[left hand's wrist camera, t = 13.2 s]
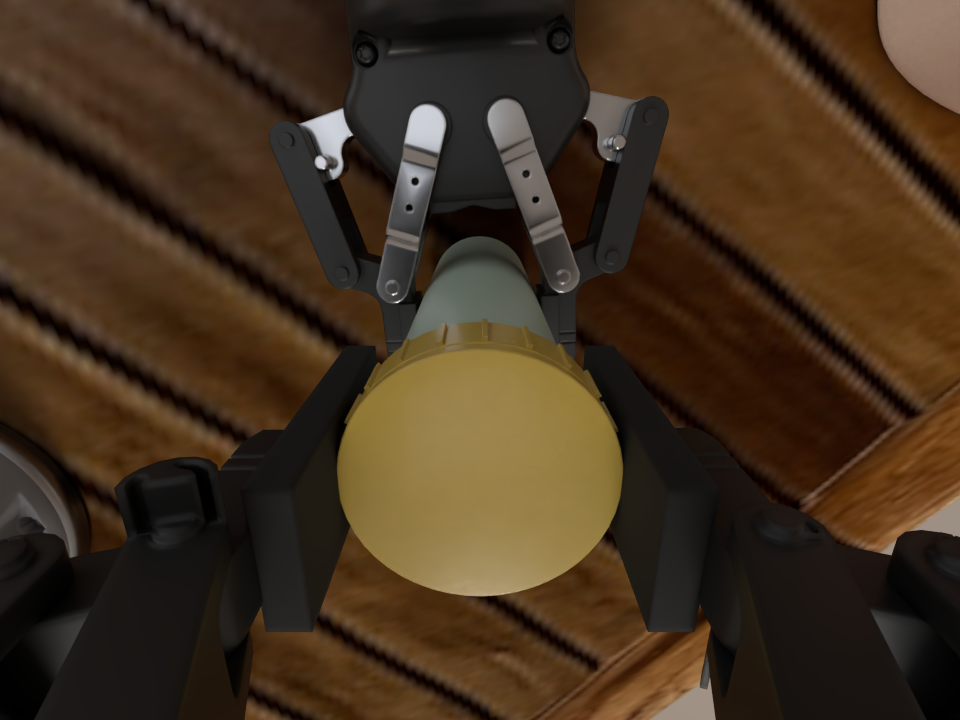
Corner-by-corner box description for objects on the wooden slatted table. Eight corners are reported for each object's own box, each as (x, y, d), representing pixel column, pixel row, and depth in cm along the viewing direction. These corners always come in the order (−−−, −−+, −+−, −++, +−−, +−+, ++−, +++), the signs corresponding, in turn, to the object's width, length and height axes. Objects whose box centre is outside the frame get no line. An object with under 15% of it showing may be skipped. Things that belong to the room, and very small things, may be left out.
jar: (539, 305, 28) (630, 522, 11) (457, 339, 29) (424, 594, 12) (504, 220, 26) (547, 321, 10) (418, 259, 27) (316, 417, 10)
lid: (640, 495, 12) (665, 546, 11) (421, 573, 13) (412, 632, 11) (553, 274, 11) (567, 295, 9) (305, 380, 11) (275, 416, 10)
